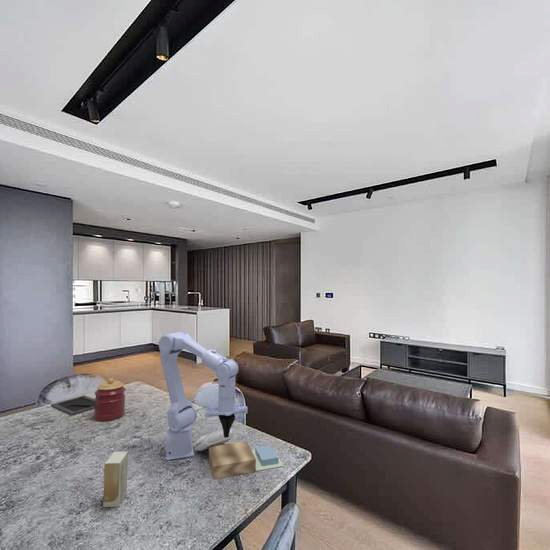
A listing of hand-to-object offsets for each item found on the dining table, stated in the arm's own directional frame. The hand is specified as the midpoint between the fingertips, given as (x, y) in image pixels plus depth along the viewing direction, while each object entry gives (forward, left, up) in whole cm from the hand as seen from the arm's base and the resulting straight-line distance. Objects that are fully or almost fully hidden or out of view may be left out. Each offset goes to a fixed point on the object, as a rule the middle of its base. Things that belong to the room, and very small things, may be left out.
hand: (226, 436), depth 108 cm
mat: (+14, 0, -10) cm, 17 cm away
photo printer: (+3, +13, -6) cm, 15 cm away
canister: (-45, +57, -10) cm, 73 cm away
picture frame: (-62, +75, -11) cm, 98 cm away
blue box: (+15, 0, -8) cm, 17 cm away
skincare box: (-33, -8, -10) cm, 35 cm away
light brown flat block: (+2, 0, -10) cm, 10 cm away
